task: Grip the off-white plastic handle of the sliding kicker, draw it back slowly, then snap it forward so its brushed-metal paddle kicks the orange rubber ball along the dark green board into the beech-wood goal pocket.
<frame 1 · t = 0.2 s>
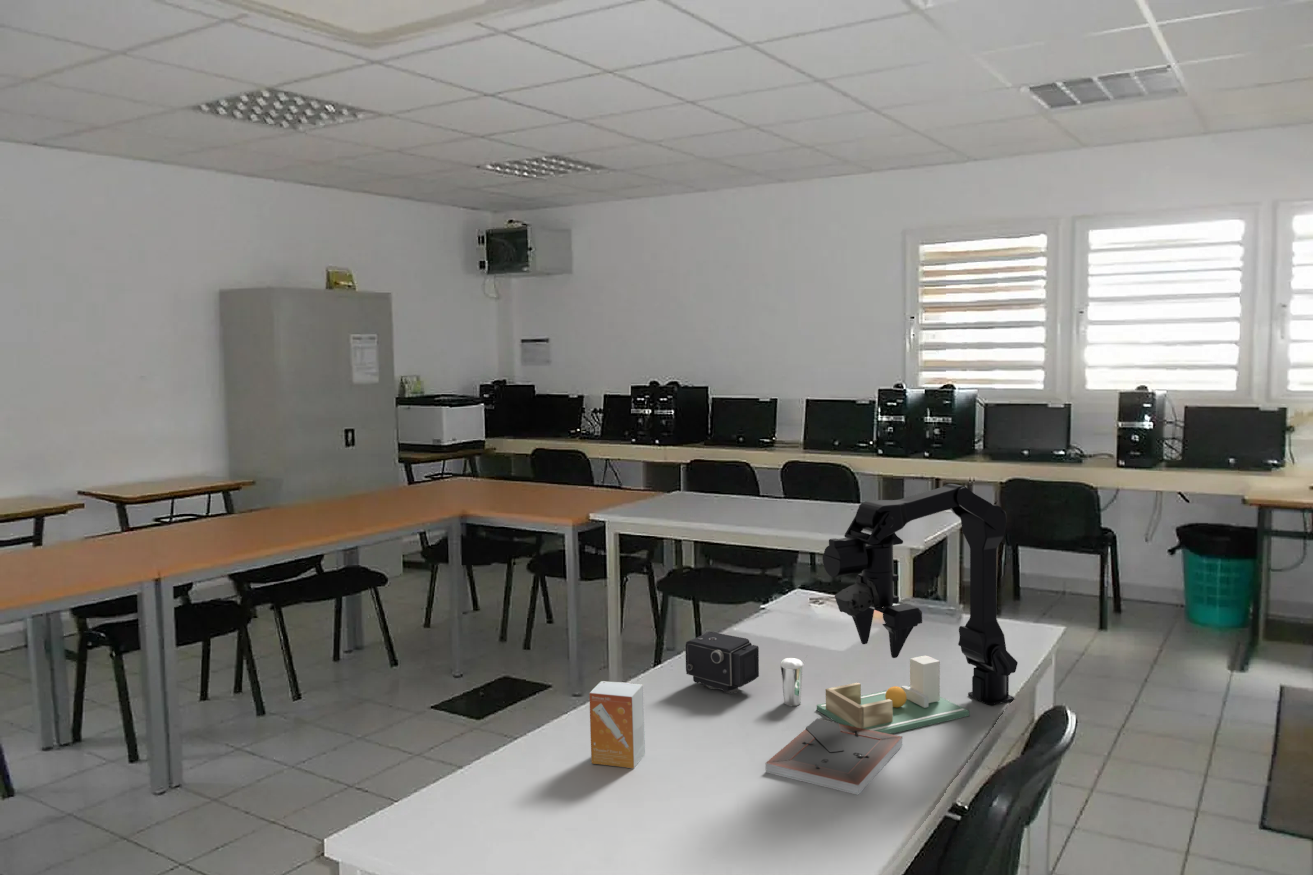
hand: (879, 650, 178), 14 cm above the table, fingers open, 9 cm apart
kicker: (922, 679, 186), point 5 cm above the table, slide at 2.0 cm
goal: (859, 714, 181), resting on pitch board
small box: (618, 760, 167), on the table
camera: (722, 689, 199), on the table
milkshake: (794, 704, 190), on the table
ball: (895, 697, 184), point 3 cm above the table, touching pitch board
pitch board: (891, 712, 184), on the table
book: (836, 763, 165), on the table
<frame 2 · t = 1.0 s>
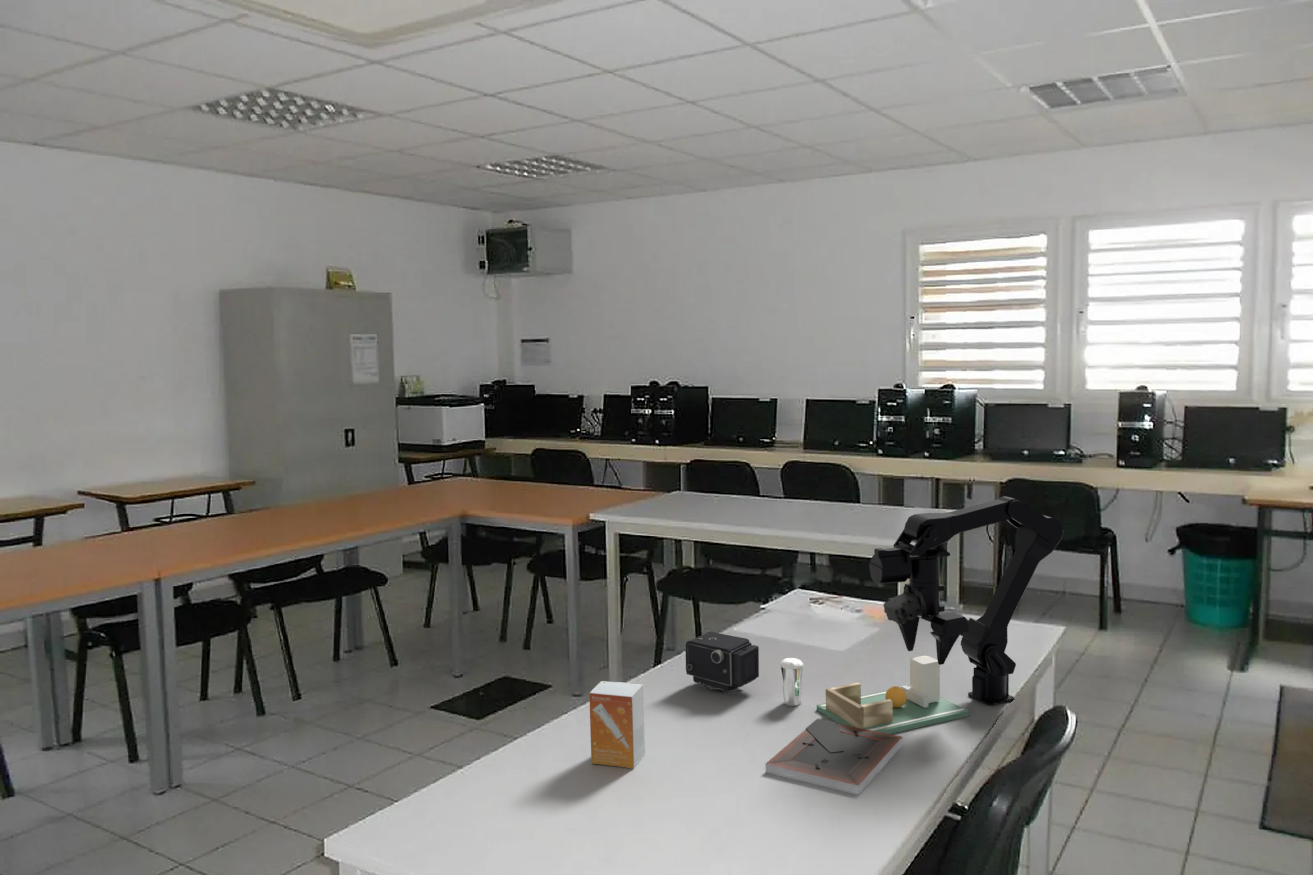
hand: (925, 657, 186), 10 cm above the table, fingers open, 9 cm apart
nothing on the table moved.
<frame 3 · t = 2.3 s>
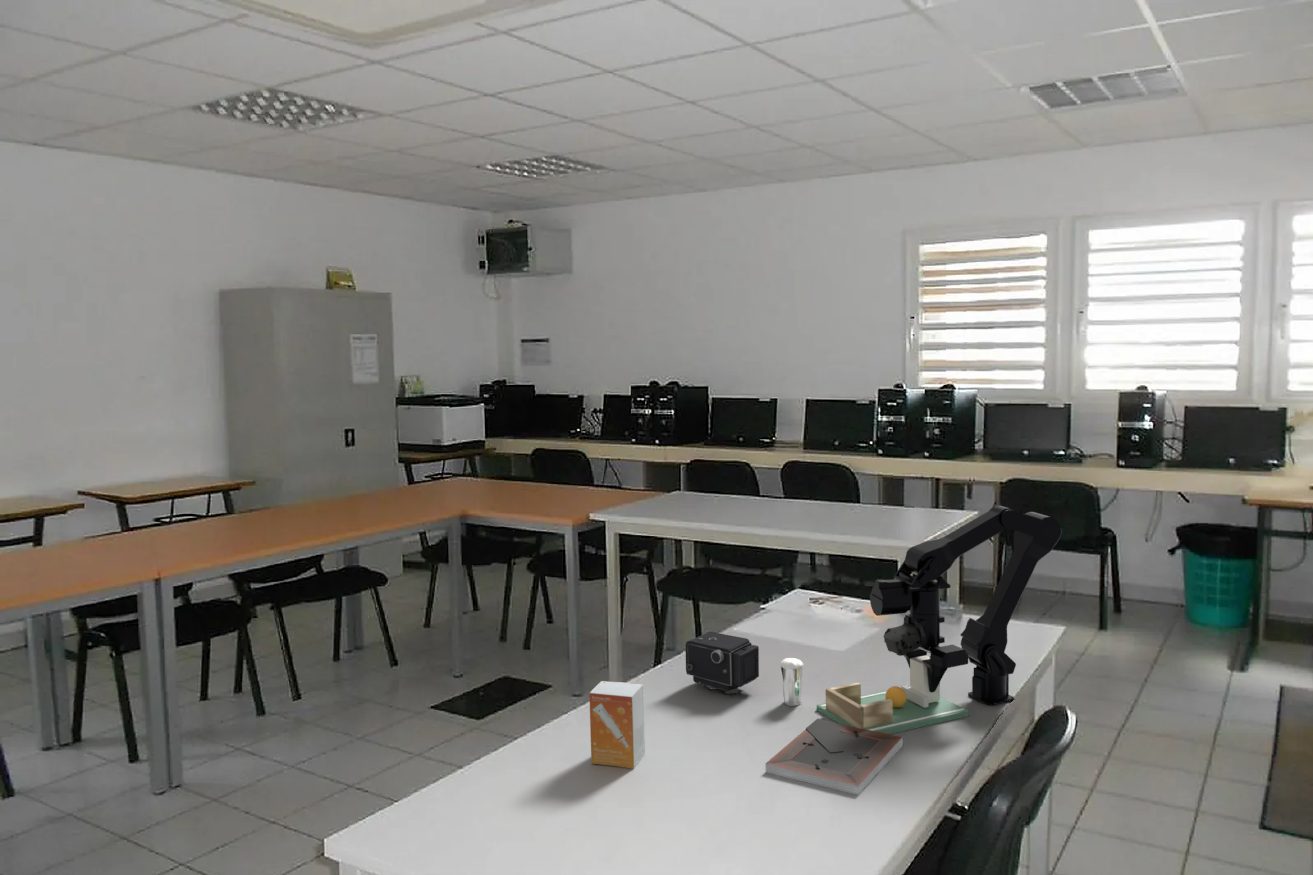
hand: (924, 688, 187), 4 cm above the table, fingers closed on kicker, 4 cm apart
kicker: (922, 679, 186), point 5 cm above the table, slide at 2.0 cm, touching gripper
everything else where it was.
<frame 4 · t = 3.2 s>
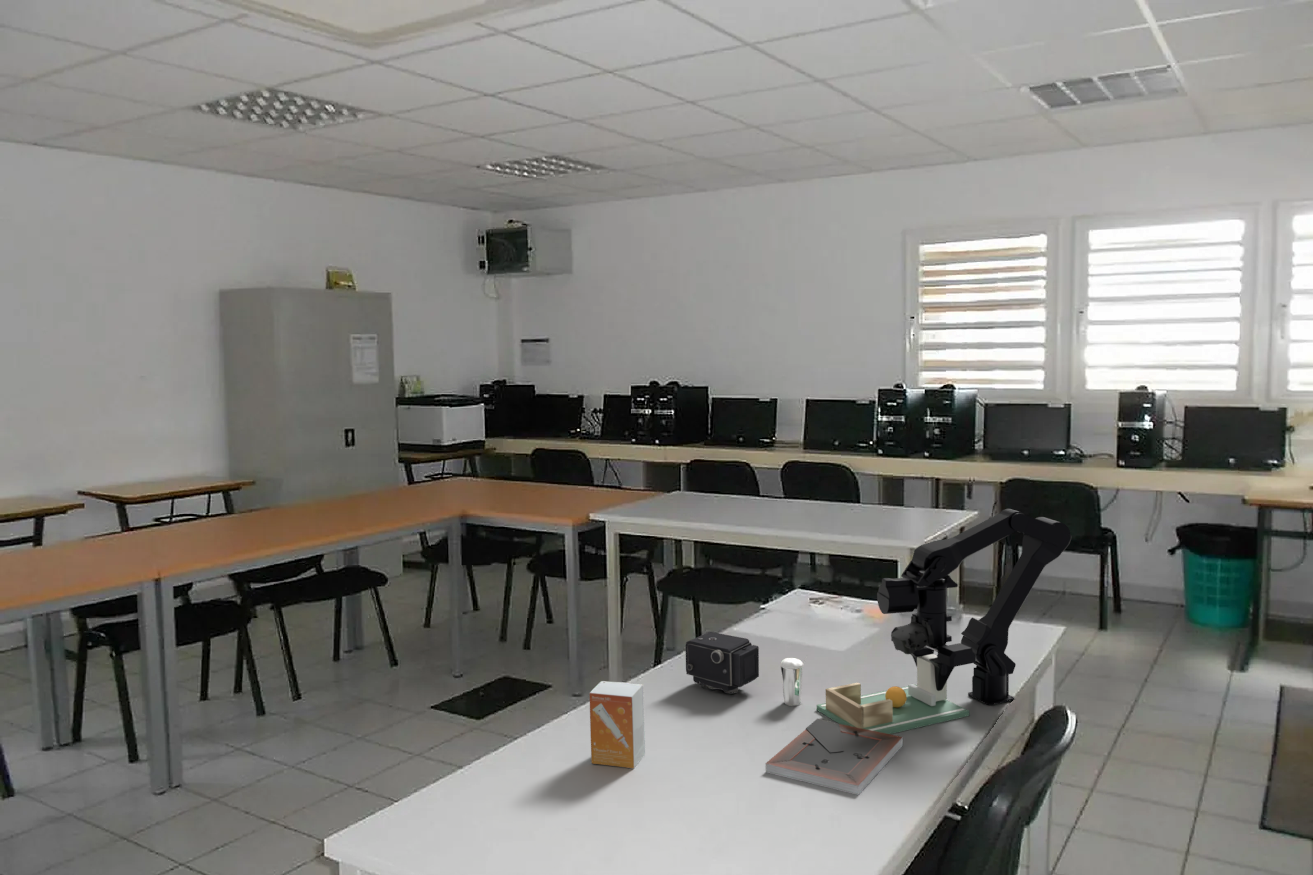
hand: (931, 686, 187), 4 cm above the table, fingers closed on kicker, 4 cm apart
kicker: (929, 678, 187), point 5 cm above the table, slide at 0.3 cm, touching gripper
everything else where it was.
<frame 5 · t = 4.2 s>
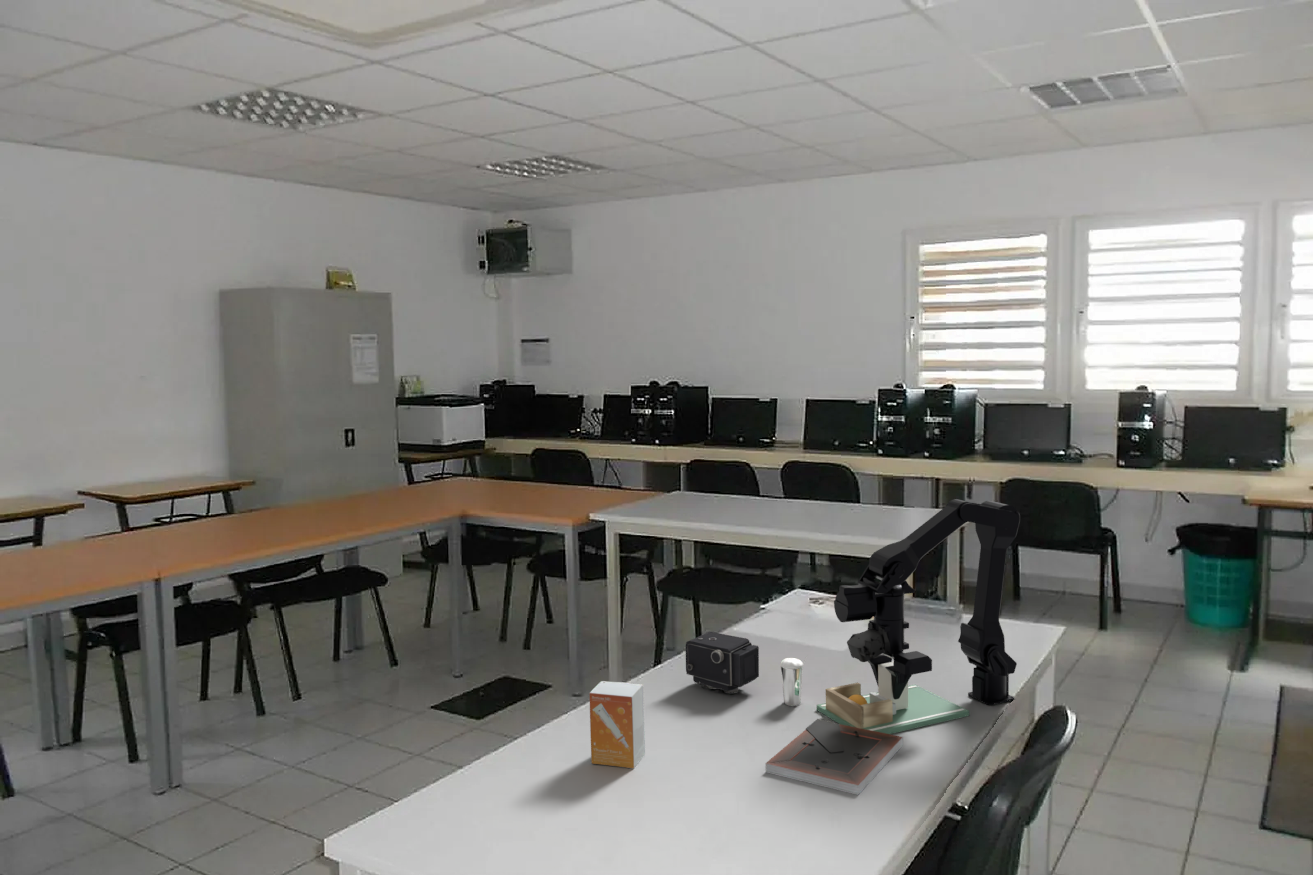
hand: (889, 695, 183), 4 cm above the table, fingers closed on kicker, 4 cm apart
kicker: (890, 686, 183), point 5 cm above the table, slide at 9.7 cm, touching gripper
ball: (857, 705, 180), point 3 cm above the table, tilted 116°, touching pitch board
everything else where it was.
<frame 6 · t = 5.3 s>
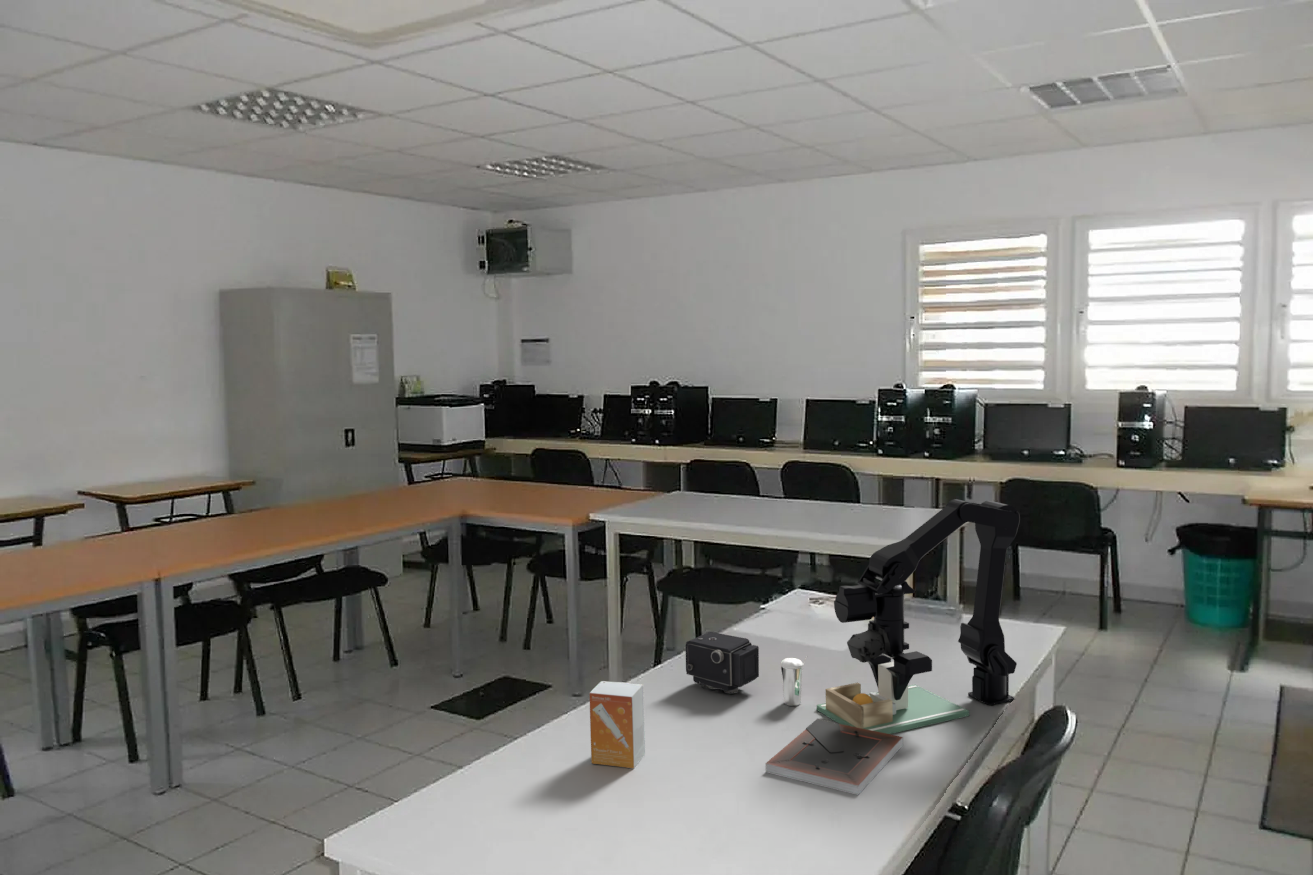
hand: (889, 695, 183), 4 cm above the table, fingers open, 5 cm apart
kicker: (890, 686, 183), point 5 cm above the table, slide at 9.7 cm
ball: (862, 704, 181), point 3 cm above the table, tilted 153°, touching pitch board
everything else where it was.
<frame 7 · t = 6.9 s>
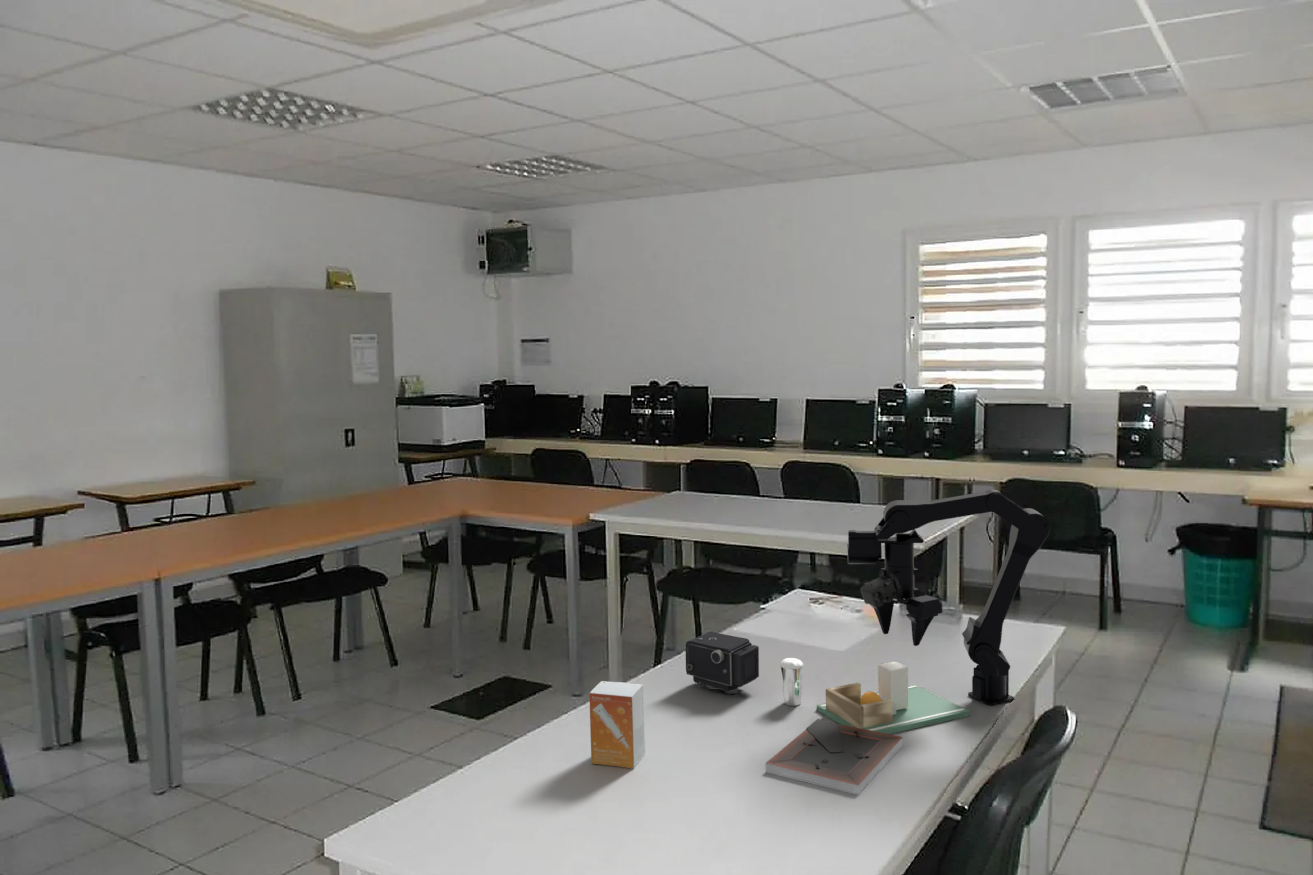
hand: (900, 639, 192), 12 cm above the table, fingers open, 9 cm apart
ball: (870, 702, 182), point 3 cm above the table, tilted 153°, touching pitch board
everything else where it was.
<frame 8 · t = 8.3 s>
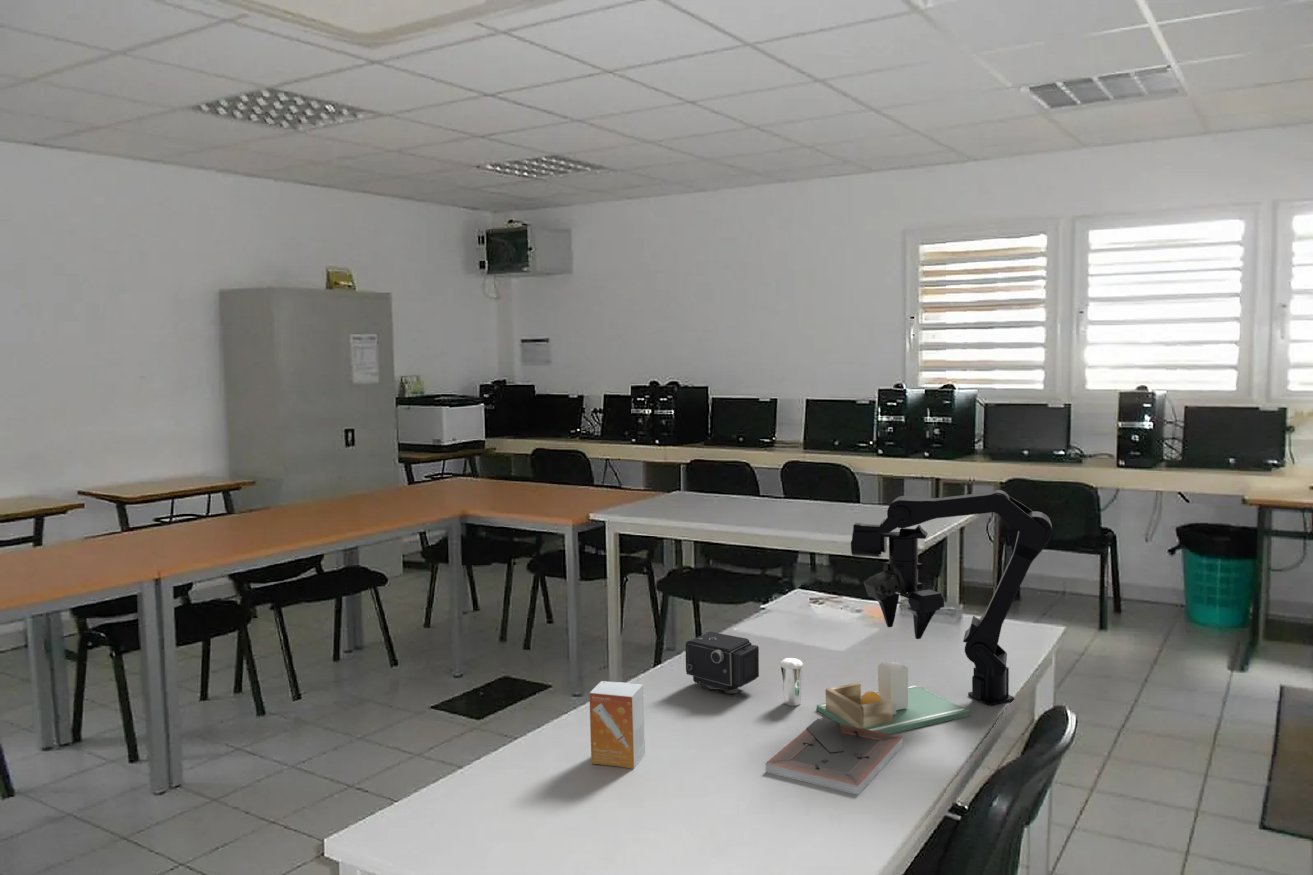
hand: (903, 632, 195), 12 cm above the table, fingers open, 9 cm apart
nothing on the table moved.
at the end: ball inside the target area (3.2 cm from its centre), point 3.0 cm above the table; kicker slide at 9.7 cm; the gripper is holding nothing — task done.
